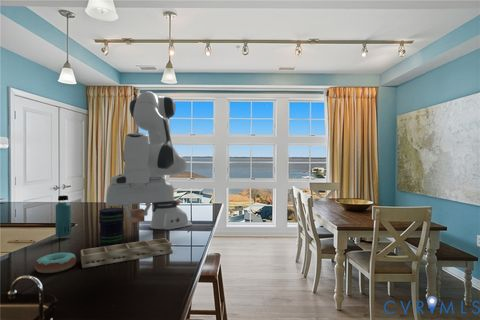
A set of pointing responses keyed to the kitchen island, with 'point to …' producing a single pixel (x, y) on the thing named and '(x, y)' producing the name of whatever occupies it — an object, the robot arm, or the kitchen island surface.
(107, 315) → the kitchen island surface
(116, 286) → the kitchen island surface
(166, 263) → the kitchen island surface
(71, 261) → the donut
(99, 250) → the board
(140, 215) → the count cube
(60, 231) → the beverage bottle
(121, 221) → the storage jar
